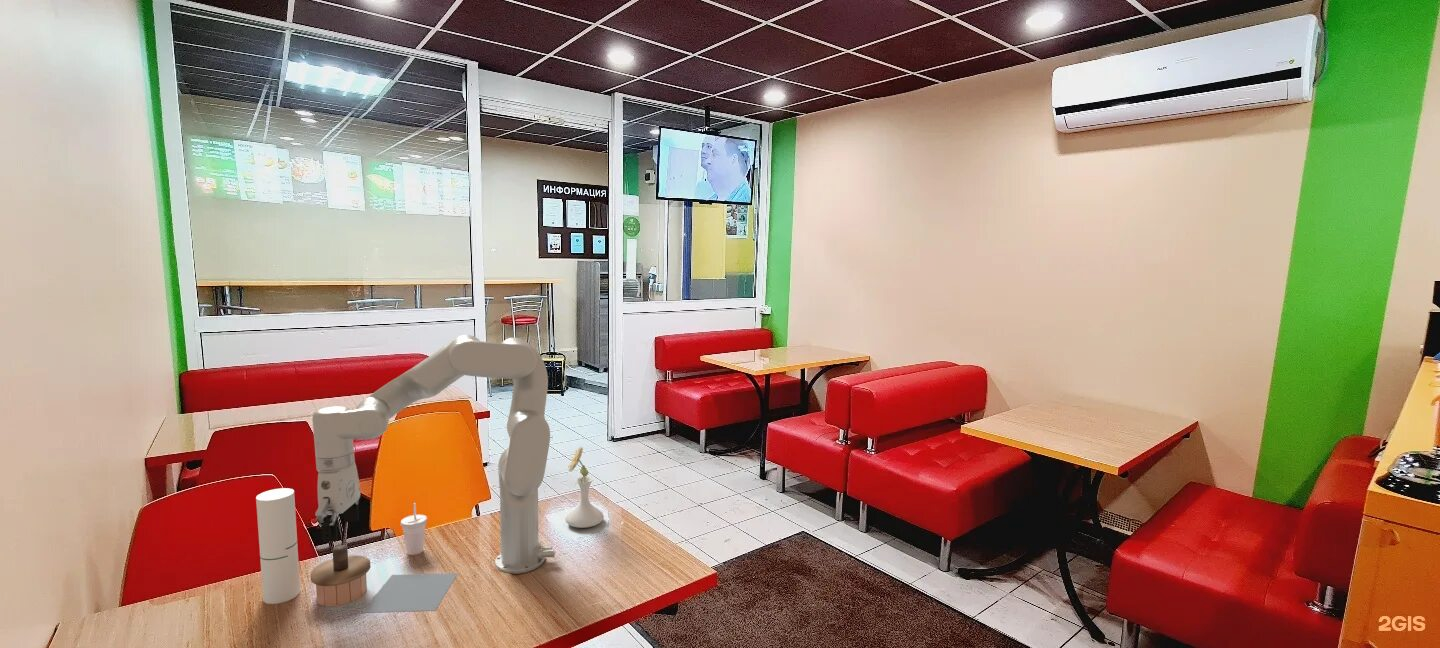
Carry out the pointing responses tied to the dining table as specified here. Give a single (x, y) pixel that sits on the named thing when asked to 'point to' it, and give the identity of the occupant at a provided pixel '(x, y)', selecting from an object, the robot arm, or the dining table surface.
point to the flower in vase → (583, 499)
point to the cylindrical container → (278, 545)
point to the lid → (340, 568)
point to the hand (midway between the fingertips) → (341, 530)
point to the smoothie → (414, 532)
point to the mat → (411, 593)
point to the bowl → (341, 592)
